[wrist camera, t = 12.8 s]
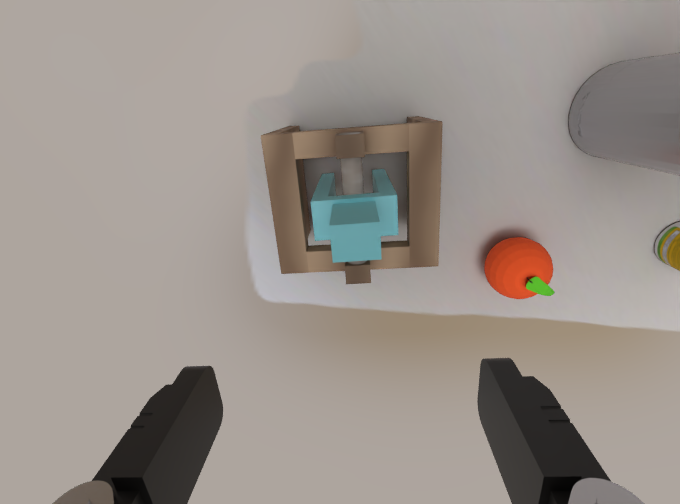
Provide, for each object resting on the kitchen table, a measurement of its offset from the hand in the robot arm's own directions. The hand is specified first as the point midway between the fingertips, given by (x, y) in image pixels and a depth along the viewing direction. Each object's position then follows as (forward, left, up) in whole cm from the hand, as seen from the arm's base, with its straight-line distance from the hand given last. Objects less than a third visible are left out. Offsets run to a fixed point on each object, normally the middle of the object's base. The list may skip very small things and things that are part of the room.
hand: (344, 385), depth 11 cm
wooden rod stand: (0, 0, -33) cm, 33 cm away
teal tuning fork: (0, 0, -28) cm, 28 cm away
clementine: (-18, +11, -33) cm, 39 cm away
